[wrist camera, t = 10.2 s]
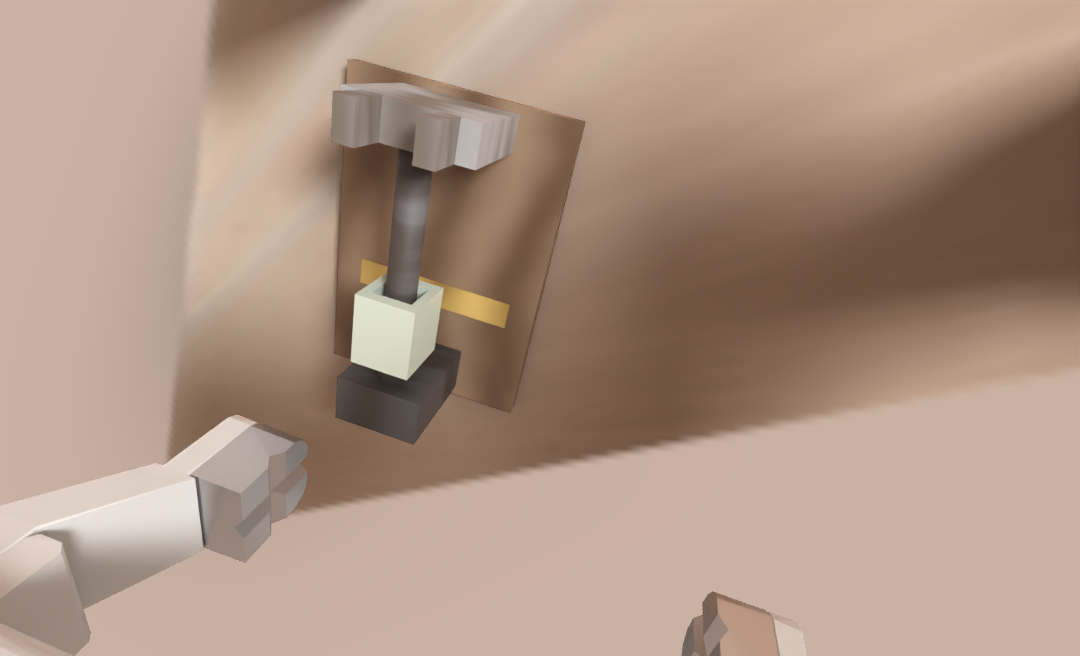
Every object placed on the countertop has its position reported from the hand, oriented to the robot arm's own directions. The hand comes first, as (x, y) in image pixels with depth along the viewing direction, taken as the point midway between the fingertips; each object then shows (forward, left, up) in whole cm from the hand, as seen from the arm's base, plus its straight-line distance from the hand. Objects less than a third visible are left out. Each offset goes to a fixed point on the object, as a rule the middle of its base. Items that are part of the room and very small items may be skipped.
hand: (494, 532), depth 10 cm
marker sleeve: (+12, +10, -24) cm, 28 cm away
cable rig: (+12, +7, -29) cm, 32 cm away
